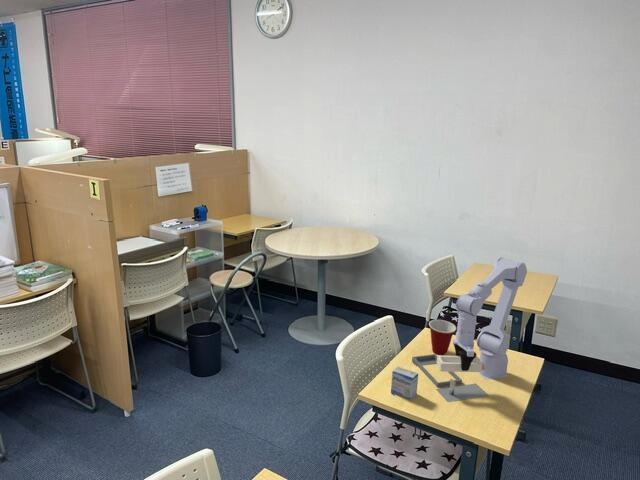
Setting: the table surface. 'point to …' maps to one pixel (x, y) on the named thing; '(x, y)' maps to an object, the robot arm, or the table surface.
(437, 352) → the plastic cup
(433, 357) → the tray
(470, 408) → the table surface
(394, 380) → the medicine box
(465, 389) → the stake base
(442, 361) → the cream rectangular sleeve
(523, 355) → the table surface
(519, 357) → the table surface
